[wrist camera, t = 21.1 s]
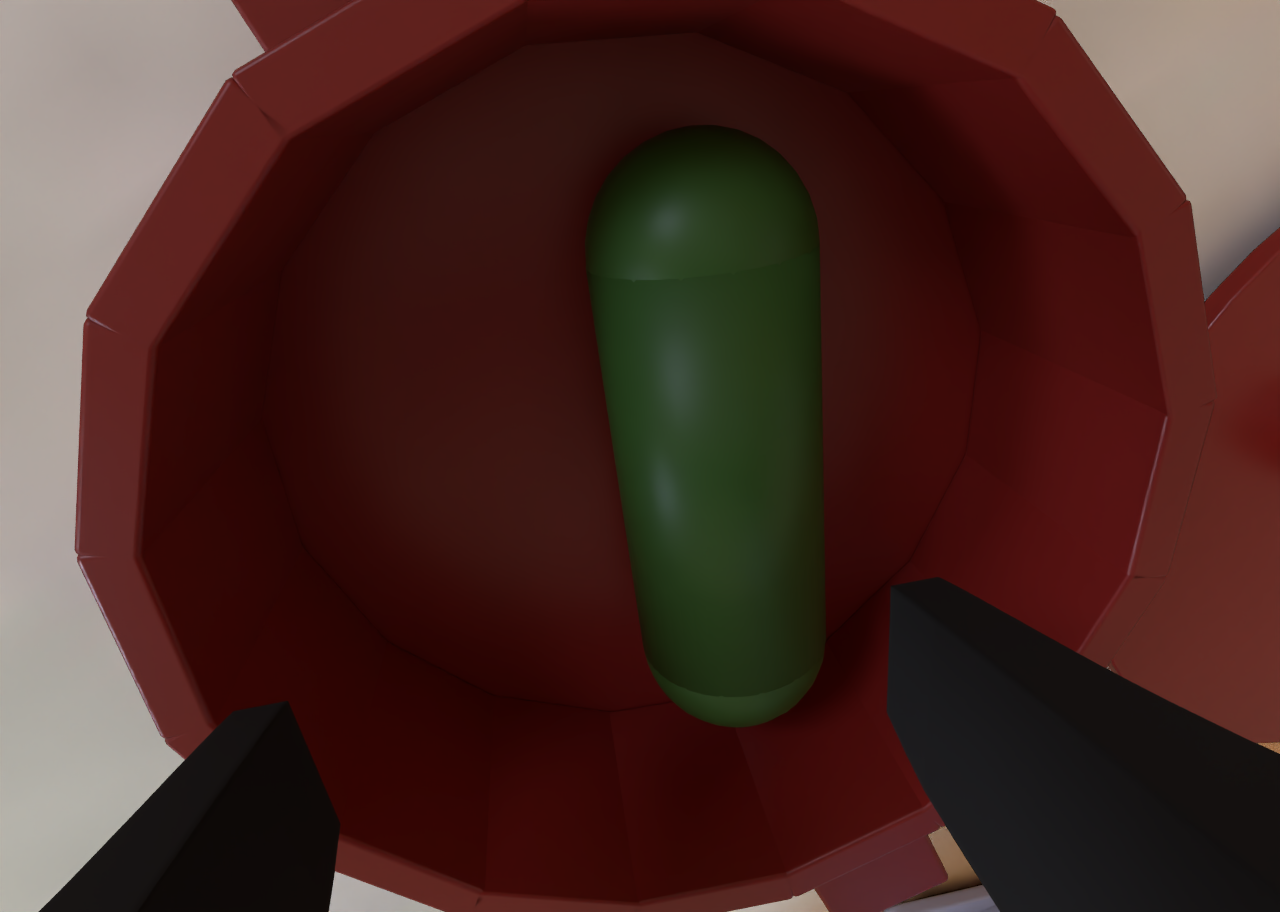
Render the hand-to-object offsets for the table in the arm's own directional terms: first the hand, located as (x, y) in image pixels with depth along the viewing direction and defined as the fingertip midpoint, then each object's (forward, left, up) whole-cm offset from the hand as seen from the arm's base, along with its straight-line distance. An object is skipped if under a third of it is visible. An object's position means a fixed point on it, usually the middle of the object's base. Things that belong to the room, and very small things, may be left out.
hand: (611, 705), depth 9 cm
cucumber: (-1, -1, -5) cm, 6 cm away
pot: (-1, -1, -6) cm, 6 cm away
